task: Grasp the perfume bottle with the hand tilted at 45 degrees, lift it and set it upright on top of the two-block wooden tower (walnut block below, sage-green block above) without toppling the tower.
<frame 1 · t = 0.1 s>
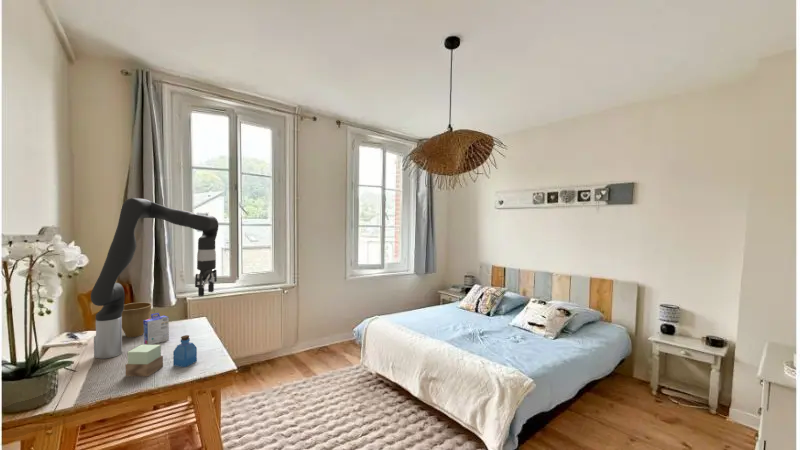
hand: (206, 293, 160), 29 cm above the table, tool pointing down, fingers open, 8 cm apart
tower top block: (144, 360, 145), point 5 cm above the table, touching tower base block
ink cartridge box: (156, 342, 178), on the table
tower base block: (144, 371, 145), on the table, touching tower top block
perfume bottle: (185, 363, 153), on the table
plant pot: (134, 335, 187), on the table
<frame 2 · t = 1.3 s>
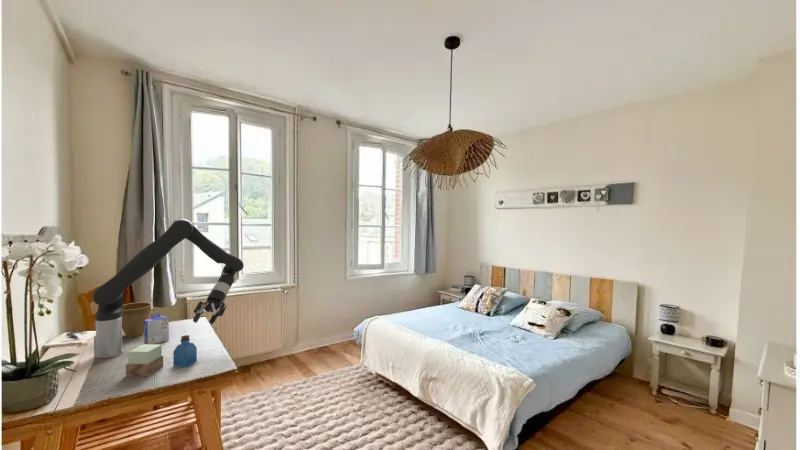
hand: (202, 322, 163), 15 cm above the table, tool tilted 45°, fingers open, 8 cm apart
nothing on the table moved.
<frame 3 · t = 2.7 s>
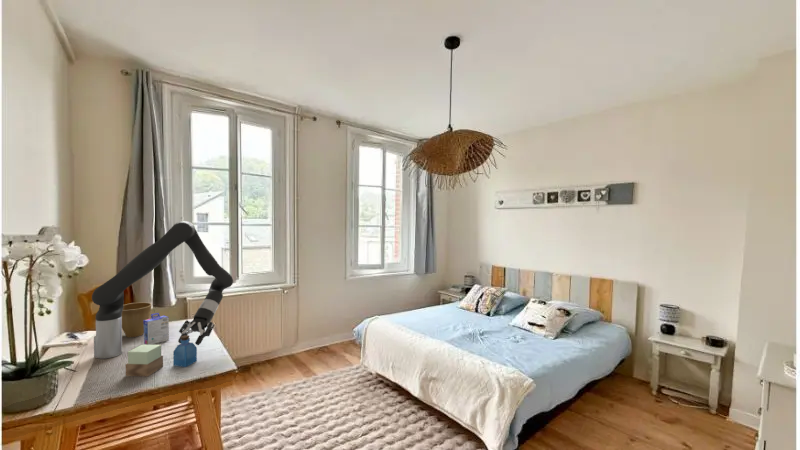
hand: (188, 343, 154), 8 cm above the table, tool tilted 45°, fingers open, 8 cm apart
nothing on the table moved.
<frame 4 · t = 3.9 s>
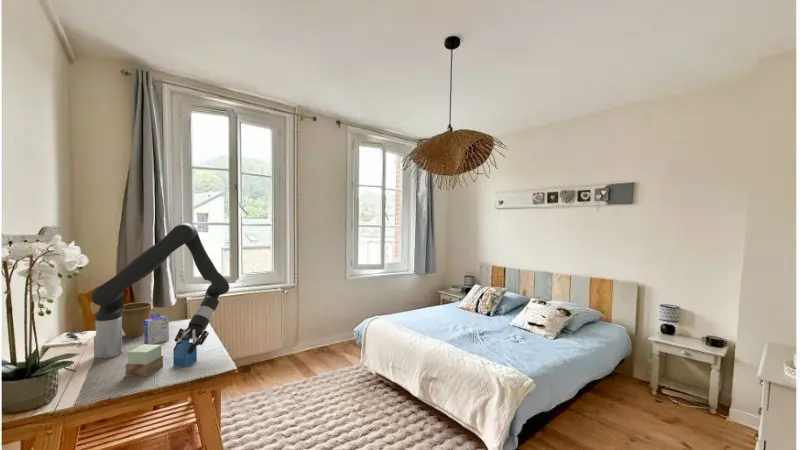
hand: (182, 352, 151), 5 cm above the table, tool tilted 45°, fingers closed on perfume bottle, 6 cm apart
perfume bottle: (185, 363, 153), on the table, touching gripper
everything else where it was.
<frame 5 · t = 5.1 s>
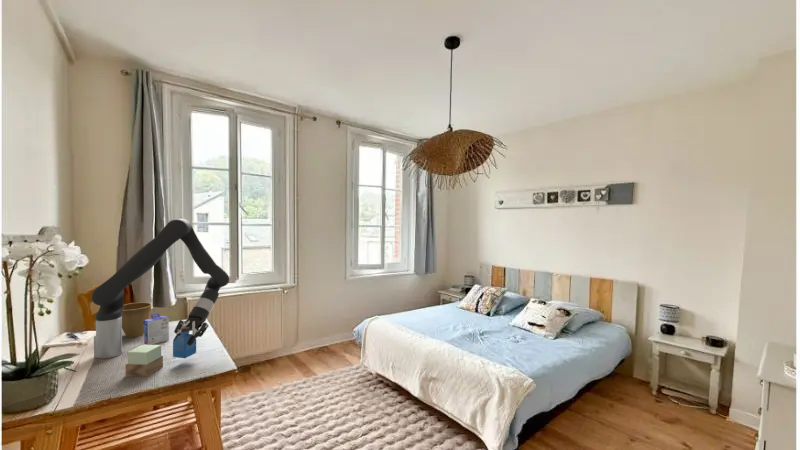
hand: (181, 344, 151), 9 cm above the table, tool tilted 45°, fingers closed on perfume bottle, 6 cm apart
perfume bottle: (184, 355, 153), point 4 cm above the table, touching gripper
everything else where it was.
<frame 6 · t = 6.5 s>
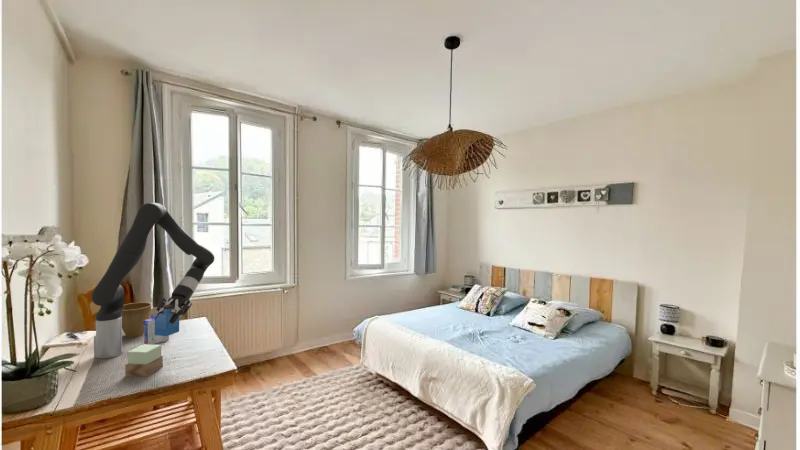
hand: (163, 321, 147), 20 cm above the table, tool tilted 45°, fingers closed on perfume bottle, 6 cm apart
perfume bottle: (167, 333, 149), point 14 cm above the table, touching gripper
everything else where it was.
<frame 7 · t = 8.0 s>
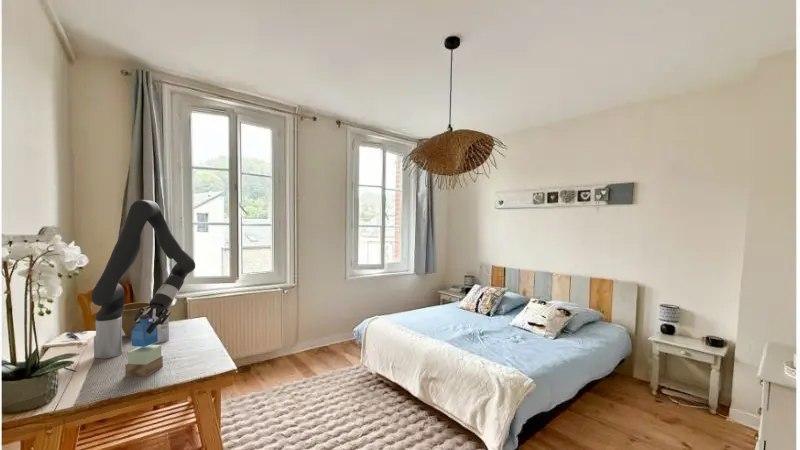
hand: (141, 332, 143), 17 cm above the table, tool tilted 45°, fingers closed on perfume bottle, 6 cm apart
tower top block: (145, 360, 145), point 5 cm above the table
tower base block: (144, 371, 145), on the table
perfume bottle: (144, 344, 145), point 11 cm above the table, touching gripper
everything else where it was.
when the fingers open (17 cm above the table, at t = 8.6 s): perfume bottle drops 2 cm, resting on tower top block.
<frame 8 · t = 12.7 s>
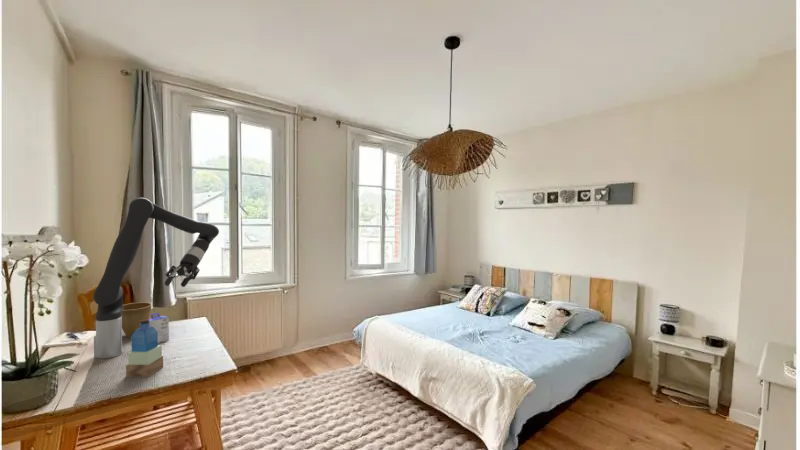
hand: (174, 285, 160), 33 cm above the table, tool tilted 45°, fingers open, 8 cm apart
tower top block: (145, 360, 144), point 5 cm above the table, touching perfume bottle
perfume bottle: (144, 349, 144), point 9 cm above the table, touching tower top block
everything else where it was.
at the end: perfume bottle 0.3 cm off-centre on the tower top block, point 4.8 cm above the tower top block's base; perfume bottle tilted 0°; tower top block tilted 0° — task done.
